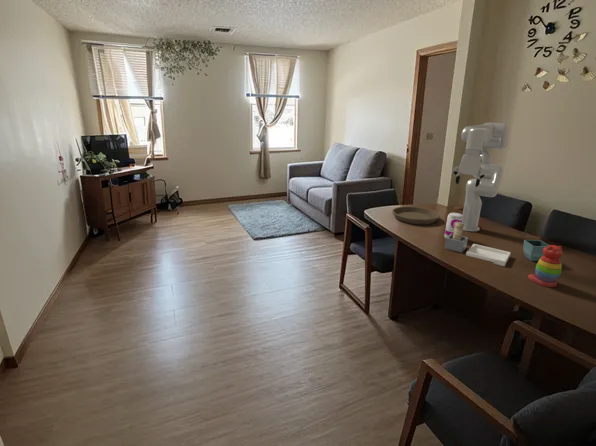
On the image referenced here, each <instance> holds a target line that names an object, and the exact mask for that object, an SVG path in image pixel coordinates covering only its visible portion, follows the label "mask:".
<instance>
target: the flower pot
mask: <svg viewBox="0 0 596 446" xmlns="http://www.w3.org/2000/svg"><path fill="white" fill-rule="evenodd" d="M549 245H550V244H548V243H546V242H544V241H542V240H539V239H524V240H523V250H522V251H523V253H524V256H525V258H527V259H528V260H530V261H532V262H533V261H534V262H538V261H539V259H540V258H541V257H542V256H544V254H543V249H544V248H545V247H547V246H549Z"/></svg>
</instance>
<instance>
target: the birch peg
mask: <svg viewBox="0 0 596 446" xmlns="http://www.w3.org/2000/svg"><path fill="white" fill-rule="evenodd" d="M463 228H464V223H460V222H456V223H455V227H454V233H453V238H452V239H455V240H460V241H461V239H462V236H463V233H464V230H463Z"/></svg>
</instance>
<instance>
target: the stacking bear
mask: <svg viewBox="0 0 596 446" xmlns="http://www.w3.org/2000/svg"><path fill="white" fill-rule="evenodd" d="M548 245H549V246H547V247H545V248H544V249H543V254H544V256H542V257H541V258H540V259H539V261H537V263H536V266H535V273H531V274H528V276H527V279H529V280H530V281H531V282H533V283H535V284H537V285H540V286H543V287H545V288H546V287H547V288H554V287H555V288H556V287H557V286H558V279H559V277H561V275H562V274H561V273H562V266H563V265H562V262H561V257H562V255H563V246H561V245H559V246H558V245H555V244H548Z"/></svg>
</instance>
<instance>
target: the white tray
mask: <svg viewBox="0 0 596 446" xmlns="http://www.w3.org/2000/svg"><path fill="white" fill-rule="evenodd" d="M465 256H467V257H472V258H474V259H479V260H483V261H487V262H492V264H493V265H497V266H501V267H505V266H506V265H507V262H508V260H509V259H510V256H511V251H506V250H503V249H500V248H499V249H498V248H494V247H489V246H486V245H481V244H477V243H473V244H472V245H471V246H470V247H469V249H467V251H466V253H465Z"/></svg>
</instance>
